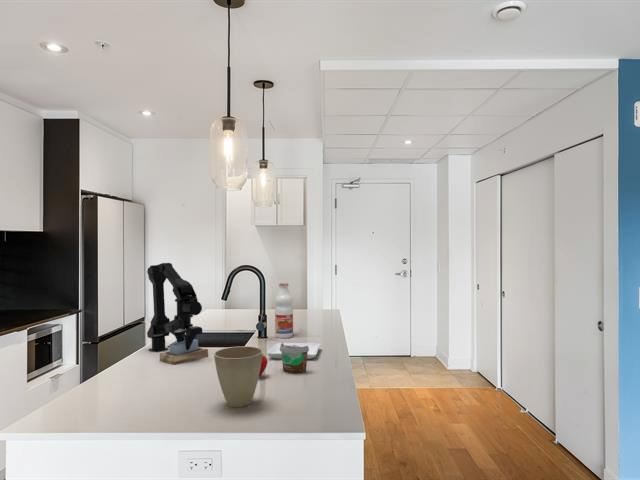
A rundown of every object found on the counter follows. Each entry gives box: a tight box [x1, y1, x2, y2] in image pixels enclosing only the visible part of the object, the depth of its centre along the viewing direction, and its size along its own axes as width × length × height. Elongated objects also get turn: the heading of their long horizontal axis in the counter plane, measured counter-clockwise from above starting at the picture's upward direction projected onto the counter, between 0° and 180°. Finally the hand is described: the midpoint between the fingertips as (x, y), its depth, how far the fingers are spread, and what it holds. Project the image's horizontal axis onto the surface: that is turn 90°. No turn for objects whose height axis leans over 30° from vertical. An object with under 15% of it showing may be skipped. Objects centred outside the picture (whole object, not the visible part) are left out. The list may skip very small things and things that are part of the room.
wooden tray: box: [159, 346, 209, 366], centre depth 198 cm, size 10×17×3 cm, turn 141°
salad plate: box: [266, 342, 322, 360], centre depth 202 cm, size 21×21×3 cm
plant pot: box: [213, 345, 264, 408], centre depth 142 cm, size 15×15×16 cm
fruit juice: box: [274, 282, 294, 339], centre depth 241 cm, size 9×9×28 cm
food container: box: [280, 342, 309, 375], centre depth 175 cm, size 12×6×10 cm, turn 62°
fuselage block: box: [169, 339, 199, 355], centre depth 198 cm, size 12×4×4 cm, turn 150°
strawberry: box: [259, 353, 268, 378], centre depth 169 cm, size 6×8×10 cm
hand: (184, 348), depth 198 cm, fingers closed on fuselage block, 5 cm apart
